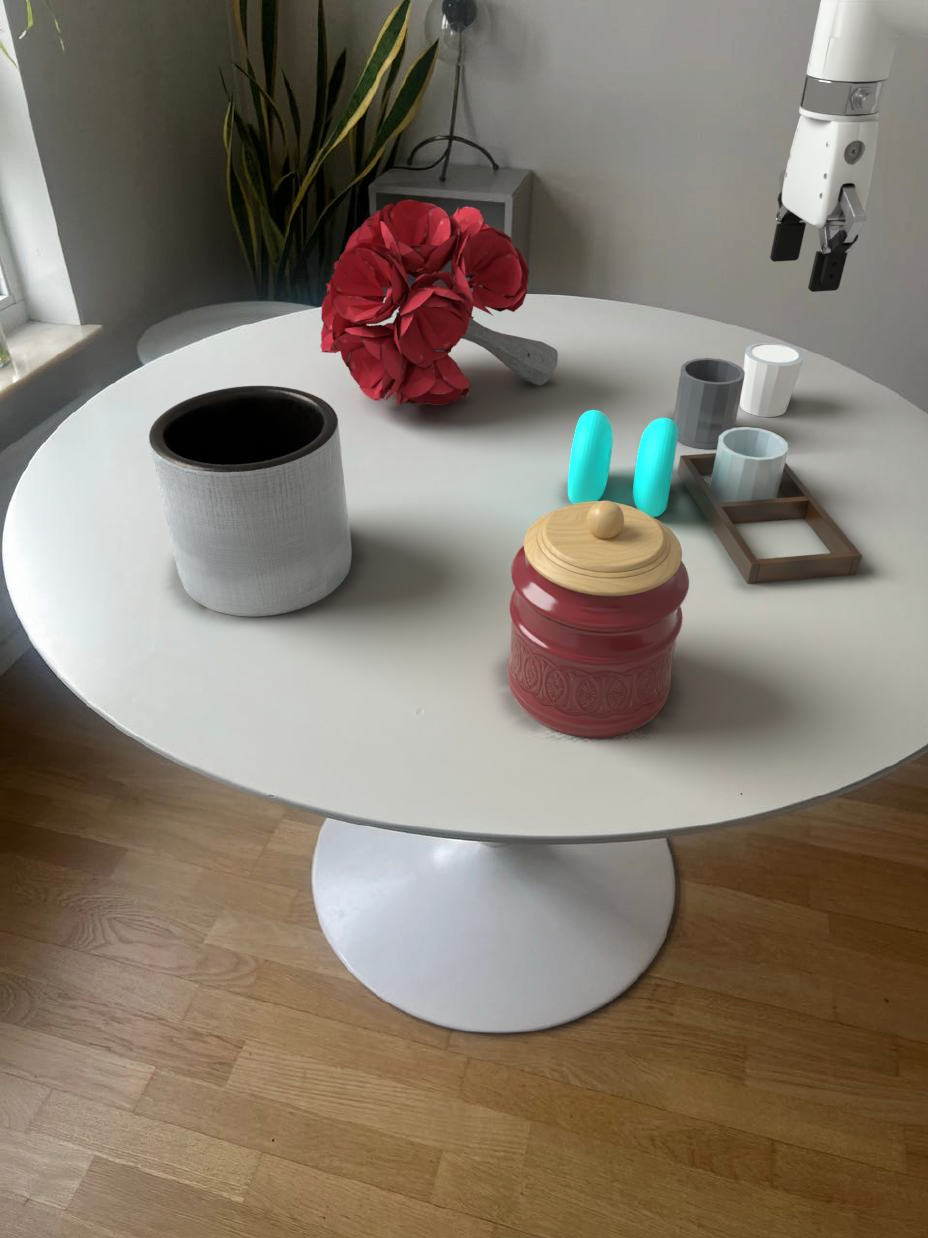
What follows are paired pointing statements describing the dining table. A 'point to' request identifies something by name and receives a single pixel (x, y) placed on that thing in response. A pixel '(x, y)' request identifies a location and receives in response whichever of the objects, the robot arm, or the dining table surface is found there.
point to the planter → (254, 498)
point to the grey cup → (707, 401)
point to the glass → (748, 465)
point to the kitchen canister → (595, 618)
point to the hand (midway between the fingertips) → (802, 274)
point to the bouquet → (426, 303)
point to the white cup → (769, 378)
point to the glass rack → (794, 507)
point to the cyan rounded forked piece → (595, 459)
